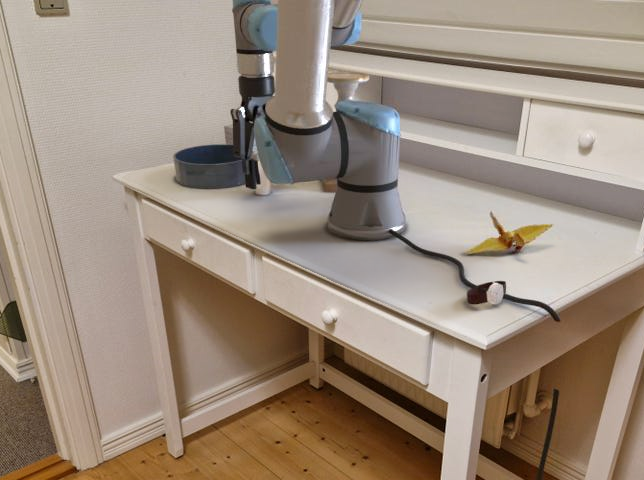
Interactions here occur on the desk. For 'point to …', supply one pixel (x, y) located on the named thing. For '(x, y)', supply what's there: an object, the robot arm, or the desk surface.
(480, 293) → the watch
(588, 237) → the desk surface
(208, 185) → the bowl
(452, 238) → the desk surface
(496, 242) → the origami crane
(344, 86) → the candle holder
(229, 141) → the medicine box
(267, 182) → the milkshake
